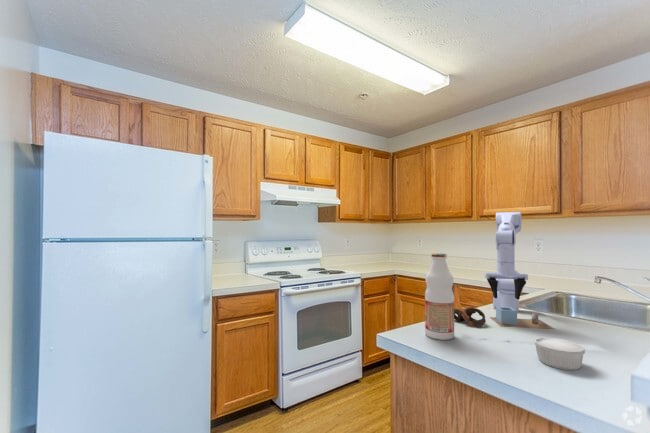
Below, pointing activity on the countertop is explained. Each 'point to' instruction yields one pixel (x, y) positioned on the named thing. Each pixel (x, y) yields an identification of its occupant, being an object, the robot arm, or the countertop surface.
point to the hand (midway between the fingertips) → (506, 298)
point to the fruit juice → (439, 300)
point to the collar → (506, 315)
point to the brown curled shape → (467, 315)
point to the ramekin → (559, 353)
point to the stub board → (526, 323)
